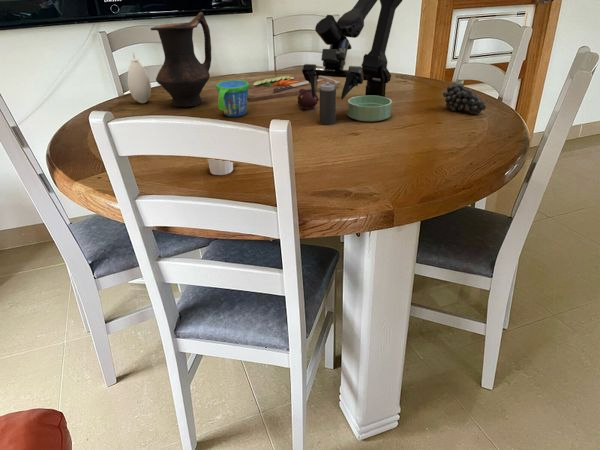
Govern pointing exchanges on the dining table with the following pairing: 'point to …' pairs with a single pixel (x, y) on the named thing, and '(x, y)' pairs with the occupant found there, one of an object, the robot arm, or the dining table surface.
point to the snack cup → (233, 97)
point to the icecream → (307, 99)
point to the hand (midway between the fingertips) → (327, 97)
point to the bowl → (369, 108)
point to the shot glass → (220, 167)
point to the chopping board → (282, 86)
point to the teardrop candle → (138, 81)
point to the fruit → (463, 99)
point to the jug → (183, 62)
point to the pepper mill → (327, 104)
